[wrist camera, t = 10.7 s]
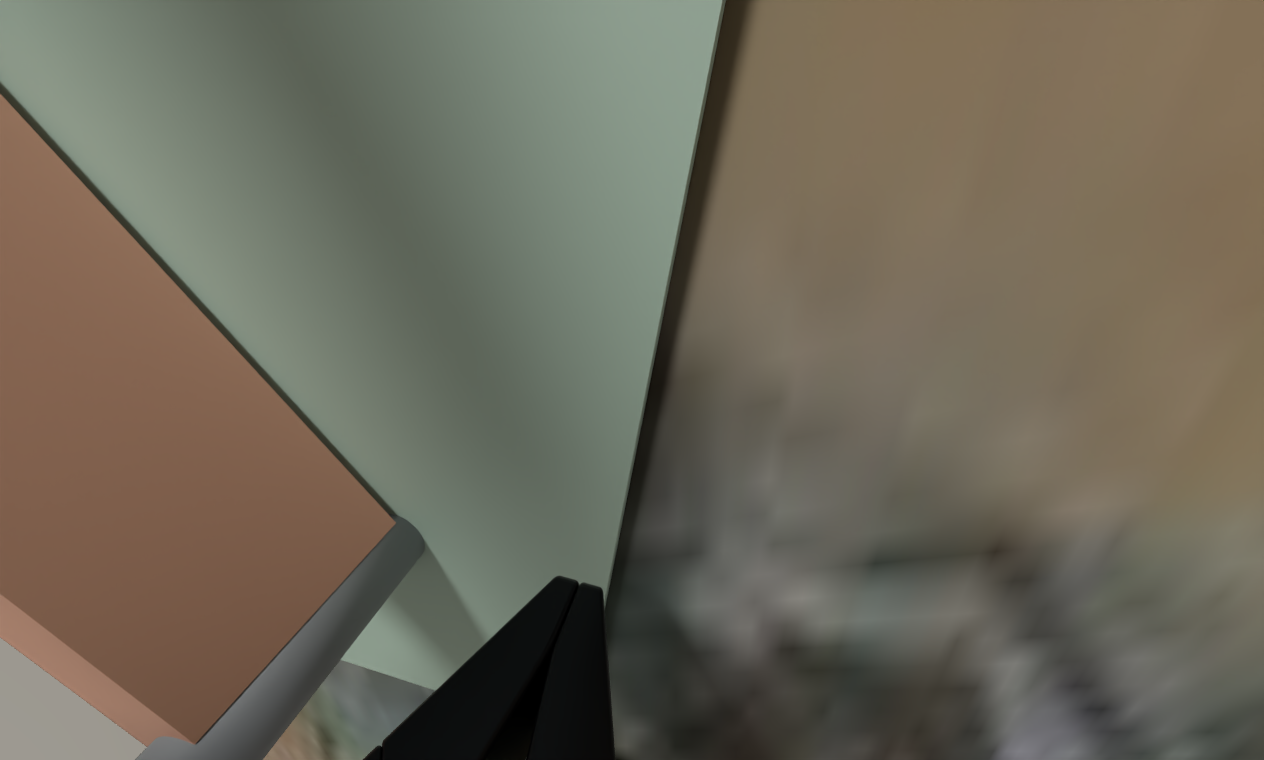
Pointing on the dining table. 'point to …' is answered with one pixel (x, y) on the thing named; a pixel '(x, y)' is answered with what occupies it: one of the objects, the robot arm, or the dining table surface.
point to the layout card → (409, 246)
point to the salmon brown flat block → (162, 491)
